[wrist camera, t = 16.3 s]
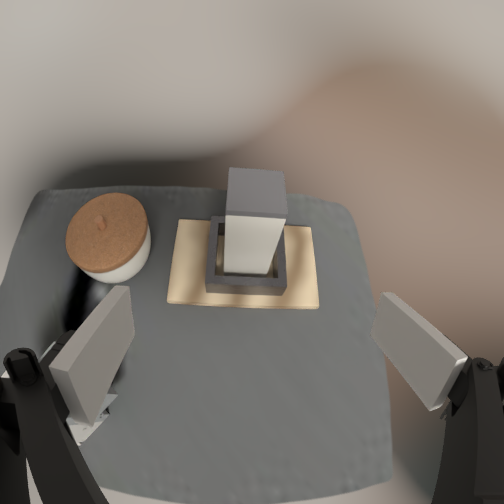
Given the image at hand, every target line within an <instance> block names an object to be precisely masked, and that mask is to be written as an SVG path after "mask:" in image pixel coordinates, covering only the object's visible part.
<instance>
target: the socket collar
mask: <svg viewBox="0 0 504 504" xmlns="http://www.w3.org/2000/svg"><path fill="white" fill-rule="evenodd" d="M225 218H226V216H211V223H210V232H209V242H208V253H207V264H206V275H205V288H206V293H220V294H241V295H267V296H282V295H283V294H284V292H285V290H286V288H287V271H286V254H285V239H284V227H283V230H282V233H281V235H280V238H279V241H278V244H277V247H276V250H275V253H274V255H273V278H258V277H236V276H217V275H216V264H217V250H218V237H219V235H221V236H225Z"/></svg>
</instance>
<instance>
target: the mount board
mask: <svg viewBox="0 0 504 504" xmlns="http://www.w3.org/2000/svg"><path fill="white" fill-rule="evenodd" d="M210 223H211V221H205V220H184V219H179V224H178V229H177V235H176V241H175V247H174V253H173V260H172V266H171V273H170V280H169V288H168V296H167V301H168V303H174V304H188V305H203V306H221V307H243V308H275V309H317V308H318V307H319V299H318V288H317V278H316V268H315V259H314V251H313V243H312V235H311V227H301V226H288V225H284V239H285V254H286V271H287V288H286V290H285V292H284V294H283V295H282V296H267V295H241V294H220V293H206V288H205V275H206V264H207V253H208V242H209V232H210ZM224 247H225V236H221V235H219V237H218V250H217V264H216V275H217V276H224ZM266 278H273V258H272V261H271V264H270V267H269V270H268V272H267V275H266Z"/></svg>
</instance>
